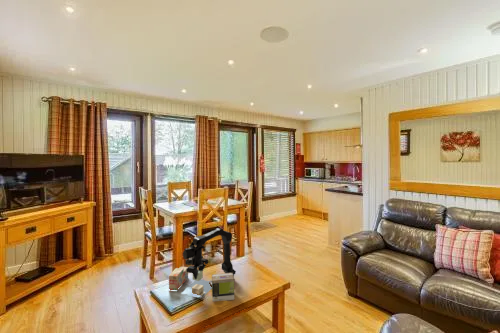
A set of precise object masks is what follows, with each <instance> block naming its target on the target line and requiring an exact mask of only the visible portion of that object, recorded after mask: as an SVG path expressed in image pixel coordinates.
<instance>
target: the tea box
mask: <svg viewBox="0 0 500 333" xmlns="http://www.w3.org/2000/svg"><path fill="white" fill-rule="evenodd" d="M234 279H235V276H234V277H233V273H225V272H223V273H213V274H211V282H212V289H211V297H212V302H221V301H222V302H223V301H234V300H235V280H234Z"/></svg>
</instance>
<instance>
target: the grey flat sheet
mask: <svg viewBox="0 0 500 333" xmlns="http://www.w3.org/2000/svg"><path fill="white" fill-rule="evenodd" d="M209 282H211V281H209V280H205V279H201V280H199V281H196V280H193V282H192V283H190V284H189V285H188V286H189V287H191V288H192V287H193V286H194V285H196V284H199V285H203V286H204V292H203V293H202V294H201V296H202V298H203V297H205V296H206V295H207V294H208V293H209V292H210V291H212V287H211V286H210V284H209Z"/></svg>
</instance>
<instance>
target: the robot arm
mask: <svg viewBox="0 0 500 333" xmlns="http://www.w3.org/2000/svg"><path fill="white" fill-rule="evenodd" d="M219 235H220V236H221V237H220V238H221V241H222V243H223V262H222V263H221V270H222V271H223V273H233V277H234V281H235V280H236V279H235V275H236V272H237V271H236V270H235V269H234V267H233V266H234V265H233V263H232V261H231V242H232V239H233V233H231V231H228V230H223V229H222V228H219V227H217V228H215V229H213V230H211V231H210V232H207V233H205V234H203V235H197V236H195V237H193V238H192V241H191V243H190V245H189V247H188V248H184V250H183V252H182V257H183V259H184V260H185V265H187V267H188V268H187V272H188V274H189V273H190V274H192V276H193V275H194V278H195V279H196V278H197V275H198V272H199V270H201V271H204V270H205V267H206V266H207V265H208V264H209V259H208V258H204V256H203V249H205V248H206V247H205V246H204V245H206V242H208V241H210V240H212V239H213V238H216V237H217V236H219ZM189 265H190V266H189Z"/></svg>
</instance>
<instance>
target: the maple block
mask: <svg viewBox="0 0 500 333" xmlns="http://www.w3.org/2000/svg"><path fill="white" fill-rule="evenodd" d="M203 292H204V286H203V285H199V284H196V285H194V286H193V287H192V293H193V294H197V295H201V294H202V293H203Z"/></svg>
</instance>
